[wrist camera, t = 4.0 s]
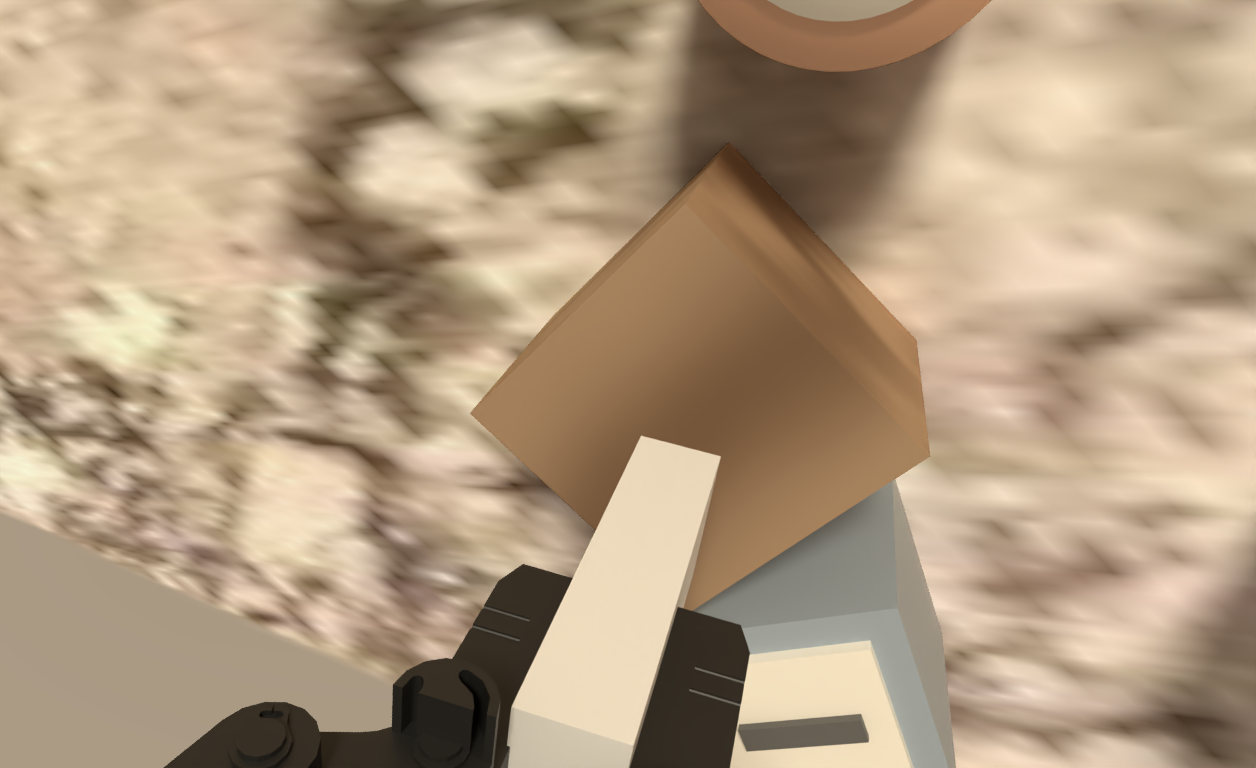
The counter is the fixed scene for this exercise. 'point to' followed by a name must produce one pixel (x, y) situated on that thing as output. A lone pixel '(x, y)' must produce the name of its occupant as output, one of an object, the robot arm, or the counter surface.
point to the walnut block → (721, 374)
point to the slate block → (842, 650)
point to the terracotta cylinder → (841, 29)
